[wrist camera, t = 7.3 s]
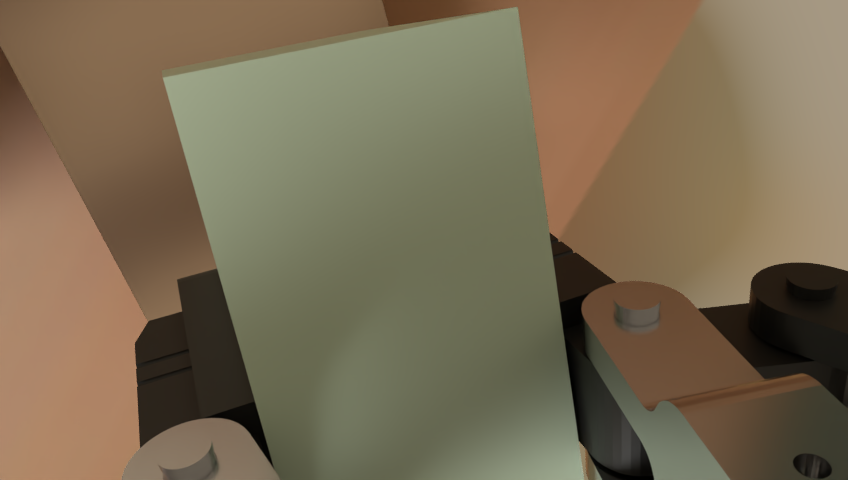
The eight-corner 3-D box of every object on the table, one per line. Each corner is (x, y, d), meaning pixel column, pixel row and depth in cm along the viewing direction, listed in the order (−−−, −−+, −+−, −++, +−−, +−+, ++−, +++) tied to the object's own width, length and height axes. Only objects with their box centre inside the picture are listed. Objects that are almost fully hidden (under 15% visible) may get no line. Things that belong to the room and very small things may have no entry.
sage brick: (161, 69, 12) (163, 77, 6) (365, 30, 13) (517, 6, 7) (266, 439, 14) (335, 684, 9) (436, 382, 15) (596, 568, 9)
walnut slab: (-5, -15, 17) (-24, 0, 14) (318, -111, 19) (352, -113, 16) (171, 325, 22) (180, 381, 19) (415, 224, 24) (452, 263, 21)
